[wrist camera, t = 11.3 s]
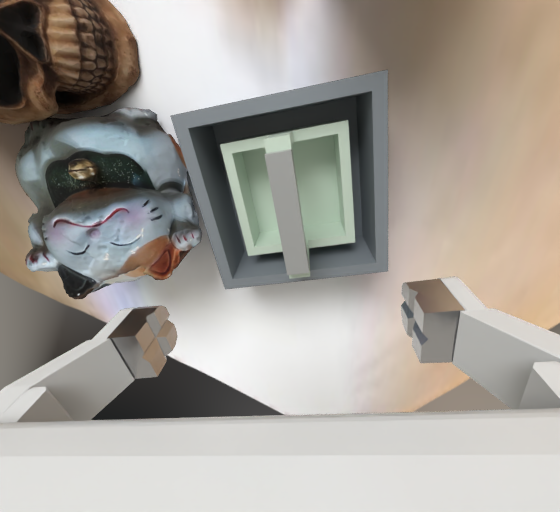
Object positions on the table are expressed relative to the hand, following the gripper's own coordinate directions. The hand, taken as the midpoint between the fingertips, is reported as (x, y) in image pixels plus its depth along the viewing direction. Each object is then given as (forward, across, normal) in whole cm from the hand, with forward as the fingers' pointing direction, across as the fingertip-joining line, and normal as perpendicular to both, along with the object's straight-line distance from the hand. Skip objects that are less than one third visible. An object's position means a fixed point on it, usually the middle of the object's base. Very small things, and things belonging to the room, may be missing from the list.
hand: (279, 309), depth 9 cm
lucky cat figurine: (+21, +16, -2) cm, 27 cm away
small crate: (+20, 0, 0) cm, 20 cm away
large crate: (+21, 0, 0) cm, 21 cm away
